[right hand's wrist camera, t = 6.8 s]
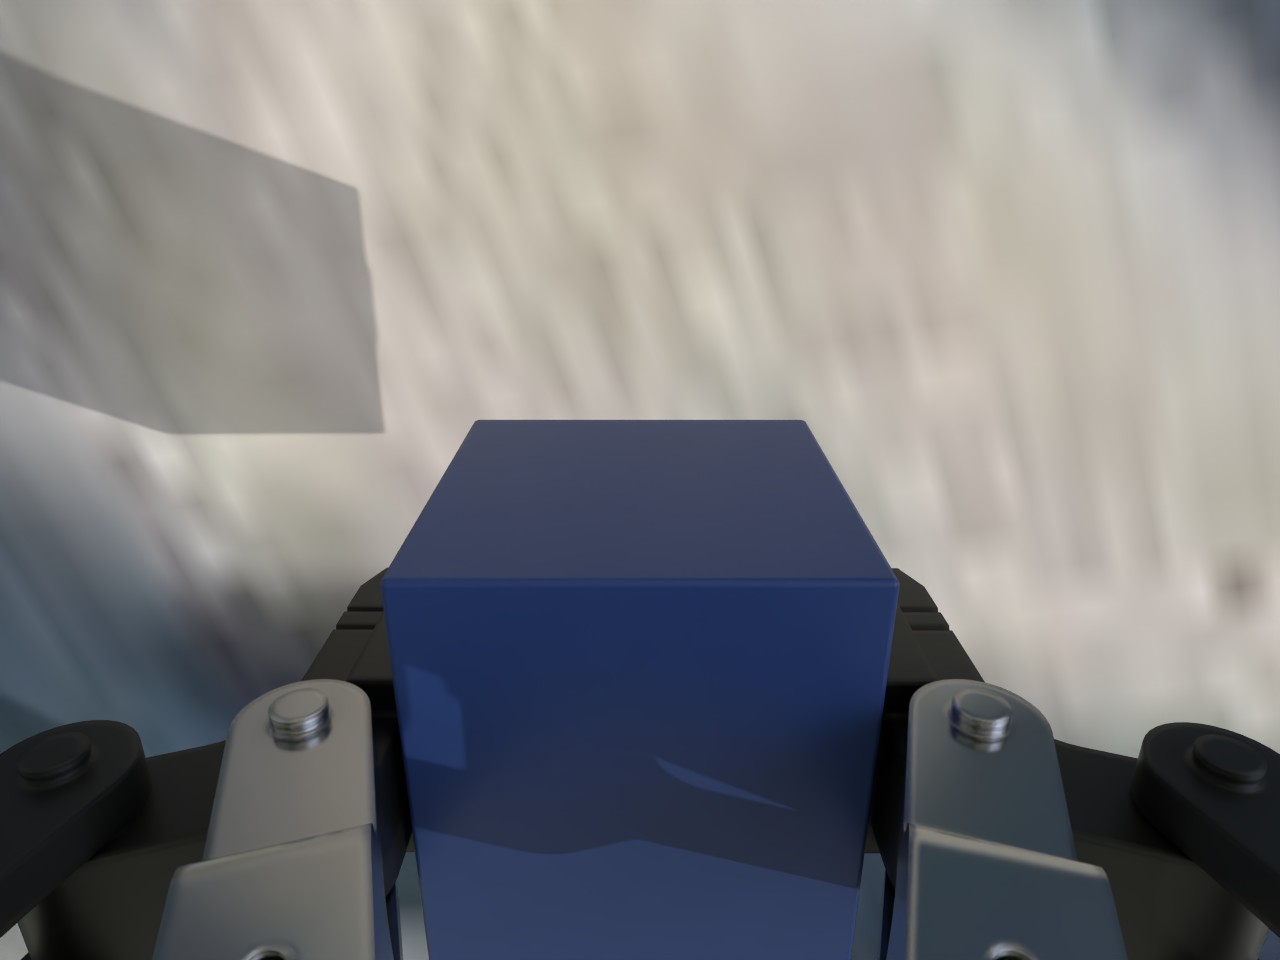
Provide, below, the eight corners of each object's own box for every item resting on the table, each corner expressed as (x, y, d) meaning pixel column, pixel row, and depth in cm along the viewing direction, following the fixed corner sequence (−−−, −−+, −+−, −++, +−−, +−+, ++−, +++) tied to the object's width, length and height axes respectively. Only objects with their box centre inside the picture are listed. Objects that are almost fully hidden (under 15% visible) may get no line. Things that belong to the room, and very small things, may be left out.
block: (805, 418, 12) (902, 581, 7) (783, 711, 13) (850, 979, 9) (474, 418, 12) (375, 580, 7) (496, 711, 13) (429, 977, 9)
